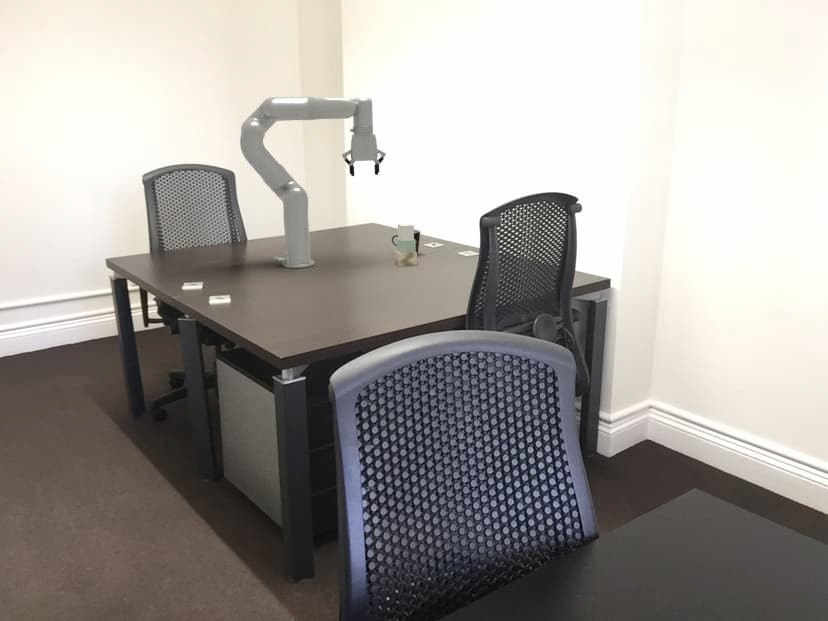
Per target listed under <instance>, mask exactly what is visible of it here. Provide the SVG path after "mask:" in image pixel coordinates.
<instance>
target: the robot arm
mask: <svg viewBox="0 0 828 621" xmlns="http://www.w3.org/2000/svg"><path fill="white" fill-rule="evenodd" d="M352 117H353V118H352ZM350 118H352V120H353V122H352V123H353V126H352V127H351V128H350V127H349V132H350V133H353V134H352V135H351V141H350V149H349V150H348V151H345V152H344V153H342V154H341V156H342V158H343V160H344V161H345V163H346V164H348V166H349V174H350V176H351V177H354V176H355V166H354V164H355V163H356V162H368V161H373V162H374V166H373V168H374V175H376V176H378V175H379V173H380V165H381V163H383V161H384V160H385V157H386V155H387V154H386V152H383V150H380V149H378V143H377V137H376V134H375V133H374V126H373V125H374V123H373V121H374V120H373V118H374V117H373V100H372V99H371V98H369V97H356V98H349V97H333V98H332V97H329V98H327V97H325V98H323V97H313V96H296V97H295V96H280V97H279V96H277V97H273V96H272V97H270V96H269V97H268V98H266V99H265V100H264V101H263V102H261V104H260V105H259V106H258V107H257V108H256V109H255V110H254V111H253V112H252V113H251V114H250V116H248V117H247V118H246V119H245V120H244V121H243V122H242V124H241V127H240V131H241V133H240V140H239V145H240V150H241V153H242V155H243V157H244V159H245V161H247V163H249V165H250V166H251V168H253V170H254V171H255V172H256V173H257V174H258V175H259V176H260V178H261V179H262V181H263V182H264V183H265V184H266V186H268V187H269V189H270V190H271V192H273V193H274V194H275V195H276V196H277V198H278V199H280V200H281V201H282V206H283V228H284V241H285V242H284V243H285V244H284V245H285V252H284V254H282V255H275V256H274V258H273V259H274V262H282V266H283V267H285V268H289V269H292V268H293V269H300V268H309V267H312V266H314V265H315V264H316V263H315V260H313V259H311V245H310V226H309V225H310V224H309V197H308V193H307V190H305V189H304V188H303V187H302V185H300V183H298V182H297V180H295V179H294V177H293V176H292V175H291V174H290V173H289V172H288V171H287V170H286V168H285V166H283V165H282V164H281V163H279V162H278V161H277V159H276V158H274V156H273V155H272V154H271V152H269V150H268V149H267V148H266V146H265V144H264V138H265V136H266V132H268V131H269V130H270V128H272V127H273V125H274V124H276V122H277V121H278V122H279V121H280V122H281V121H282V122H284V121H285V122H286V121H287V122H288V121H316V120H338V119H350ZM378 154H379V155H380V157H379V155H378ZM349 155H350V160H349V158H348V156H349Z"/></svg>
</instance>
